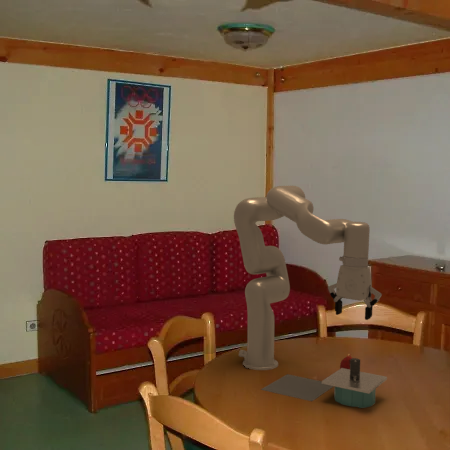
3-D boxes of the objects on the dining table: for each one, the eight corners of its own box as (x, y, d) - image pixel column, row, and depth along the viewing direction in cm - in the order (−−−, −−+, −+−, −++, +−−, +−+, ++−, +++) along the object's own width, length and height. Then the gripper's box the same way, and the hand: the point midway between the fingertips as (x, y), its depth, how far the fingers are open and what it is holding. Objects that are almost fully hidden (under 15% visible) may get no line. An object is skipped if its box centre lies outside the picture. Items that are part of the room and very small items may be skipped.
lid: (321, 383, 197) (322, 361, 196) (341, 370, 209) (342, 349, 209) (369, 393, 189) (369, 370, 188) (387, 379, 201) (387, 357, 201)
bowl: (328, 402, 198) (328, 383, 197) (344, 390, 208) (344, 372, 207) (365, 410, 191) (366, 391, 191) (380, 398, 201) (380, 379, 201)
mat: (260, 390, 208) (260, 389, 208) (287, 375, 223) (287, 374, 223) (311, 402, 198) (311, 401, 198) (336, 385, 213) (336, 384, 213)
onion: (357, 380, 218) (357, 357, 217) (339, 379, 219) (340, 356, 218) (357, 375, 223) (357, 352, 222) (340, 373, 224) (340, 351, 224)
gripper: (324, 260, 202) (322, 314, 204) (377, 267, 192) (374, 323, 194) (335, 257, 208) (332, 309, 210) (387, 263, 198) (384, 318, 200)
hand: (353, 316), depth 202 cm, fingers open, 9 cm apart
